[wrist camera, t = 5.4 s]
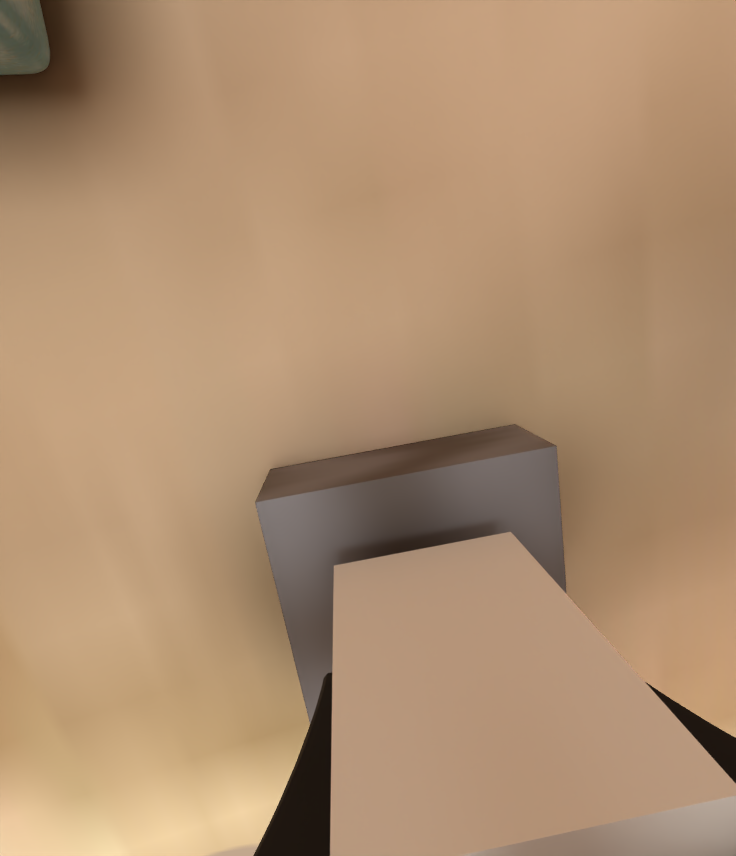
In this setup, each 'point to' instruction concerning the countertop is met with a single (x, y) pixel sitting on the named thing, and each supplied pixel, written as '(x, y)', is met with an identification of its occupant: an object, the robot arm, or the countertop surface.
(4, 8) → the flower pot
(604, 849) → the cream block
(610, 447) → the countertop surface
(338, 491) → the charcoal plinth
